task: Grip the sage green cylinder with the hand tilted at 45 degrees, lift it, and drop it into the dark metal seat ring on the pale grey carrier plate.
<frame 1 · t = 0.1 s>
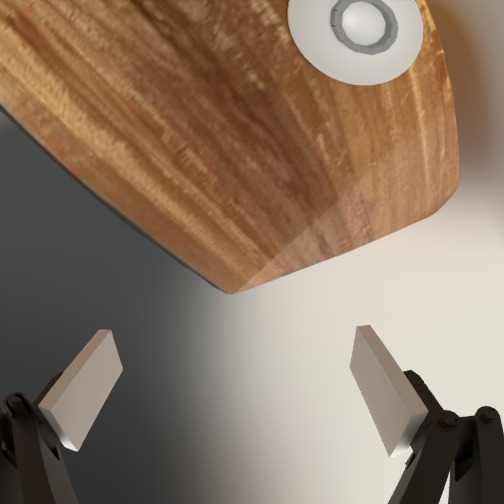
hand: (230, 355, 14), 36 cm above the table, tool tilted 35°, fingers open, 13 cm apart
carrier plate: (359, 22, 26), on the table
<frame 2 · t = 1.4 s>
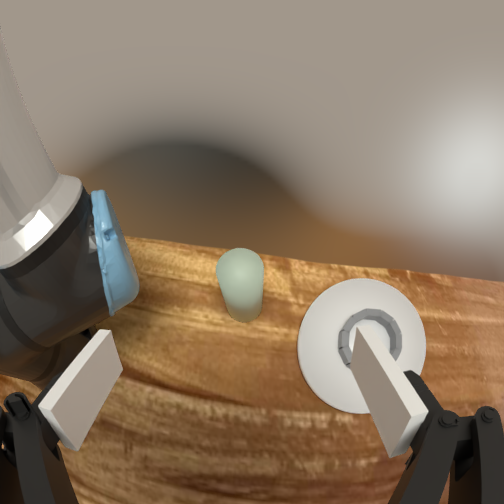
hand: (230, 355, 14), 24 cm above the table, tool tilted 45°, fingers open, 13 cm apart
carrier plate: (365, 345, 37), on the table
sage green cylinder: (244, 305, 40), on the table
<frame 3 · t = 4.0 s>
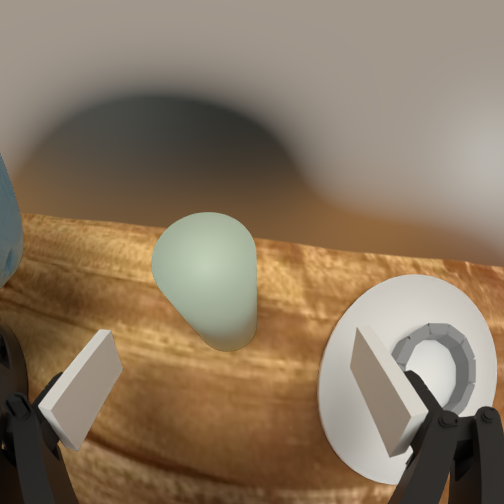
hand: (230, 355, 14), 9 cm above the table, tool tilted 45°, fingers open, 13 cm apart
carrier plate: (420, 379, 20), on the table
sage green cylinder: (227, 322, 24), on the table
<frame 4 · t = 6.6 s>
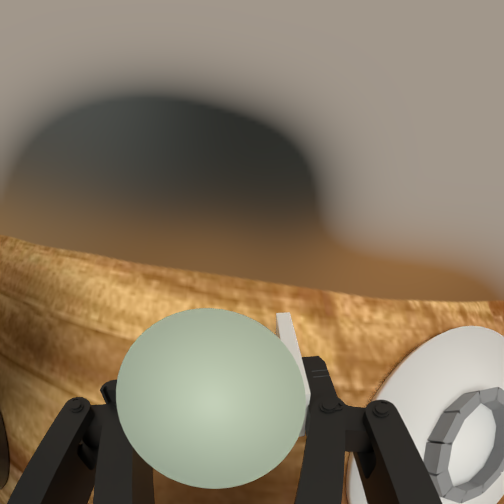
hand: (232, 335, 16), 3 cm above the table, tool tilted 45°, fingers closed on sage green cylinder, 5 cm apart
carrier plate: (459, 445, 13), on the table
sage green cylinder: (237, 399, 17), on the table, touching gripper
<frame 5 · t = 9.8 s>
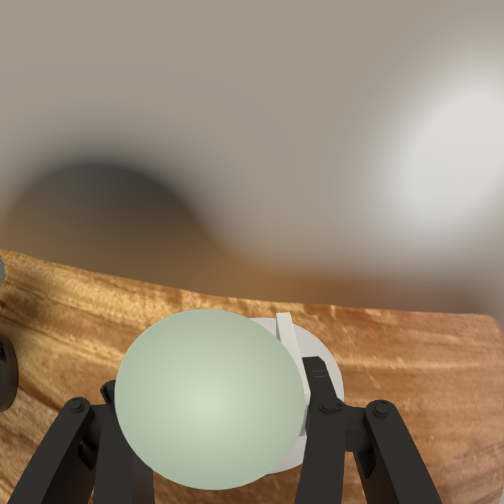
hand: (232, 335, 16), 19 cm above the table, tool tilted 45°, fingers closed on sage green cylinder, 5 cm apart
carrier plate: (260, 397, 31), on the table
sage green cylinder: (237, 399, 17), point 16 cm above the table, touching gripper
when the fingers open (6 cm above the table, at t = 13.1 s): sage green cylinder drops 1 cm, resting on carrier plate.
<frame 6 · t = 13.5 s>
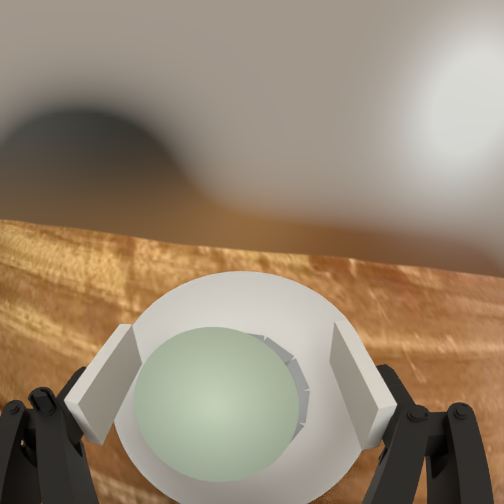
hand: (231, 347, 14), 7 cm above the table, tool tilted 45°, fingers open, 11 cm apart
carrier plate: (240, 398, 19), on the table
sage green cylinder: (238, 399, 18), point 1 cm above the table, touching carrier plate
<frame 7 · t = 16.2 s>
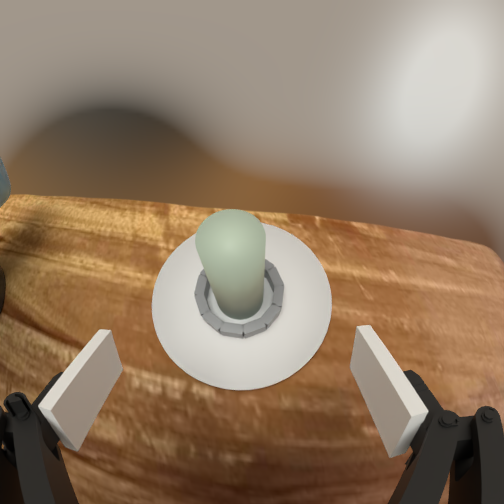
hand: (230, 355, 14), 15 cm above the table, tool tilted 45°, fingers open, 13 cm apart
carrier plate: (240, 300, 31), on the table
sage green cylinder: (240, 297, 30), point 1 cm above the table, touching carrier plate
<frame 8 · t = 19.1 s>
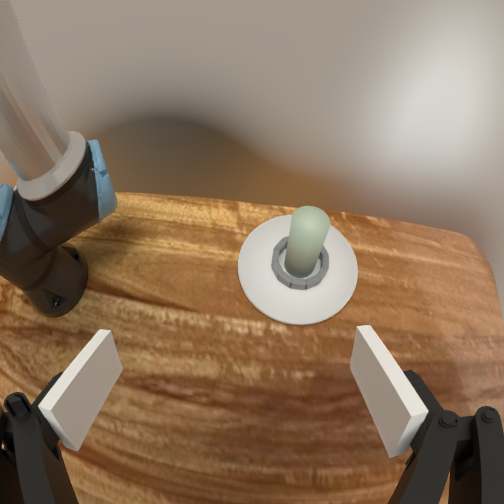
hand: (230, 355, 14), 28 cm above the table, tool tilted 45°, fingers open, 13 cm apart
carrier plate: (298, 267, 47), on the table
sage green cylinder: (299, 264, 46), point 1 cm above the table, touching carrier plate
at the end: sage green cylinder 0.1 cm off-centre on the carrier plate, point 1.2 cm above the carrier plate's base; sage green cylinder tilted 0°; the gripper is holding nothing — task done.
